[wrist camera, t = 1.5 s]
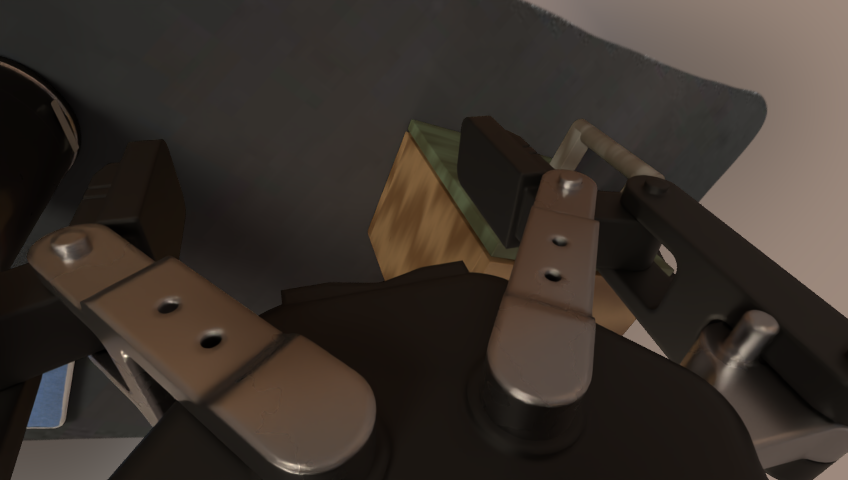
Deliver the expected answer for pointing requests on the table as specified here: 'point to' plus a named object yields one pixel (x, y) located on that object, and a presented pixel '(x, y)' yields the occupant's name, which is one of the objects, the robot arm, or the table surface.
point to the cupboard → (448, 233)
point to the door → (580, 137)
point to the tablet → (52, 398)
